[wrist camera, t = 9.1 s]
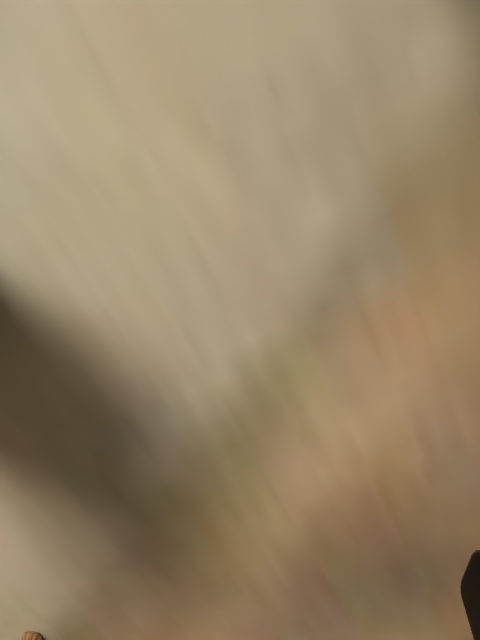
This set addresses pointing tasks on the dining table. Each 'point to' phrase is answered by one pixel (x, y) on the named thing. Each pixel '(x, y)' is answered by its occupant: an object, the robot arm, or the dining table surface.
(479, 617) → the robot arm
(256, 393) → the dining table surface
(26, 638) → the lion figurine
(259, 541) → the dining table surface
